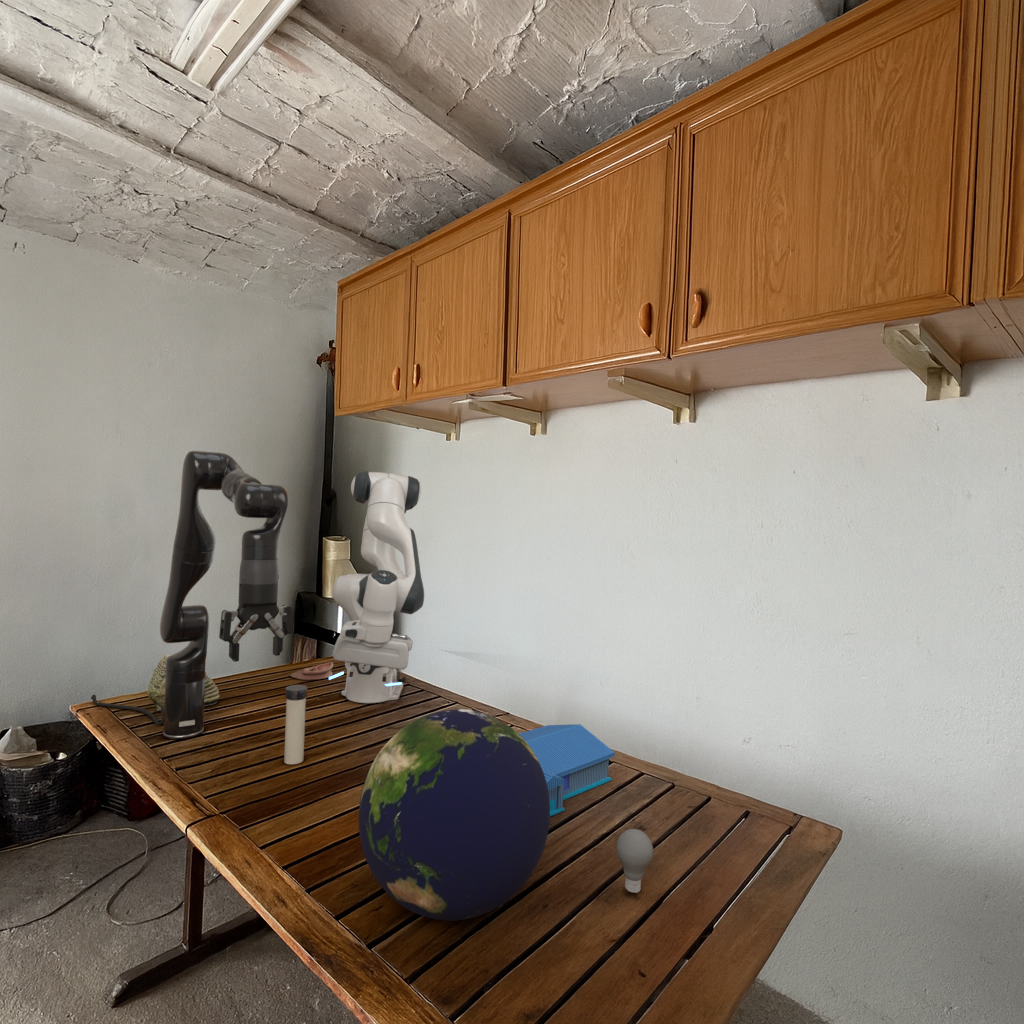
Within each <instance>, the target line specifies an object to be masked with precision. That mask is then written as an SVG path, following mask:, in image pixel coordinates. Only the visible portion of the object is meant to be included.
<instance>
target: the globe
mask: <svg viewBox="0 0 1024 1024" xmlns="http://www.w3.org/2000/svg"><path fill="white" fill-rule="evenodd" d="M519 734H520V733H518V732H517V731H516V730H515V729H514V728H513V727H512V726H510V725H508V724H506V723H505V722H504V721H502V720H500V719H498V718H496V717H494V716H493V715H490V714H487V713H484V712H480V711H478V710H477V711H476V710H472V709H466V708H461V709H460V708H459V709H446V710H440V711H435V712H432V713H429V714H425V715H423V716H421V717H419V718H417V719H415V720H413V721H411V722H409V724H407V725H405V726H404V727H402V728H401V729H400V730H399V731H397V732H396V733H395V734H394V735H393V736H391V738H390V739H389V740H388V741H387V743H385V744H384V745H383V747H382V748H381V749H380V750H379V752H378V754H377V755H376V757H375V759H374V760H373V762H372V764H371V766H370V768H369V770H368V772H367V775H366V777H365V780H364V783H363V787H362V790H361V794H360V798H359V799H360V800H359V807H358V831H359V839H360V845H361V849H362V852H363V855H364V858H365V861H366V863H367V866H368V867H369V869H370V871H371V874H372V875H373V877H374V879H375V880H376V881H377V882H378V884H379V885H380V887H381V888H382V889H383V891H385V892H386V894H388V895H389V897H391V899H393V900H394V901H395V902H396V903H398V904H399V905H400V906H401V907H403V908H405V909H406V910H408V911H411V912H412V913H414V914H417V915H419V916H421V917H424V918H428V919H432V920H437V921H446V922H449V921H450V922H452V921H455V922H456V921H464V920H469V919H473V918H477V917H480V916H482V915H483V916H484V915H485V914H488V913H490V912H492V911H494V910H496V909H497V908H499V907H501V906H502V905H503V904H505V903H507V902H508V901H509V900H510V899H511V898H513V896H515V895H516V894H517V893H518V892H519V891H520V890H521V889H522V887H523V886H524V885H525V884H526V883H527V881H528V880H529V879H530V877H531V876H532V875H533V872H534V871H535V869H536V868H537V866H538V863H539V861H540V860H541V858H542V856H543V853H544V849H545V847H546V844H547V839H548V834H549V830H550V823H551V822H550V821H551V816H550V800H549V792H548V787H547V782H546V779H545V776H544V773H543V770H542V768H541V765H540V763H539V760H538V759H537V757H536V755H535V753H534V752H533V750H532V749H531V747H530V746H529V745H528V744H527V742H526V741H525V740H524V739H523V738H522V737H521V736H520V735H519Z"/></svg>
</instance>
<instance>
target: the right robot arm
mask: <svg viewBox="0 0 1024 1024" xmlns="http://www.w3.org/2000/svg"><path fill="white" fill-rule="evenodd" d="M350 492H351V496H352V498H353V500H354V501H355V502H357V503H360V504H363V505H364V504H367V511H366V515H365V520H364V524H363V530H362V538H361V546H360V554H361V557H362V559H363V560H364V561H366V562H367V563H368V564H370V565H372V566H374V567H375V568H376V569H377V570H374V571H372V572H371V573H347V574H342V575H340V576H338V577H337V578H336V580H335V581H334V582H333V584H332V592H331V593H332V598H333V600H334V602H335V603H336V605H337V606H339V607H340V608H341V609H342V610H343V611H344V612H345V613H346V615H347V616H348V618H349V619H350V620H349V621H345V622H344V624H343V625H342V627H341V630H340V634H339V636H338V637H337V639H336V641H335V644H334V648H333V652H332V658H333V660H335V661H338V662H339V661H340V662H344V666H345V668H346V671H347V672H346V680H345V689H343V690H341V693H340V695H341V696H344V697H346V699H347V700H348V701H351V702H354V703H360V704H376V703H383V702H388V701H397V700H399V699H400V696H401V694H402V691H403V689H404V683H403V681H404V680H406V679H407V677H406V676H403V677H402V678H401V677H400V675H401V672H400V671H397V670H406V668H407V667H408V665H409V656H410V652H411V650H412V648H413V642H414V641H413V639H412V638H411V637H410V636H409V635H407V634H400V633H393V629H394V623H395V622H394V613H395V612H396V613H400V614H407V615H413V614H415V613H416V612H418V611H419V610H420V609H421V608H423V606H424V602H425V598H426V597H425V596H426V595H425V594H426V593H425V588H424V583H423V578H422V573H421V565H420V557H419V550H418V543H417V537H416V534H415V531H414V530H413V528H411V527H410V526H409V525H408V523H407V521H406V516H405V514H406V513H407V511H411V510H412V509H414V508H415V507H416V506H417V505H418V502H419V501H420V499H421V496H422V488H421V483H420V481H419V479H417V478H415V477H413V476H410V475H408V476H406V475H403V474H398V473H393V472H380V471H369V470H361V471H358V472H357V473H356V474H355V476H354V477H353V479H352V481H351V484H350ZM397 550H398V552H400V553H401V555H402V558H403V566H404V572H403V570H402V569H401V567H400V565H399V563H398V557H397ZM344 673H345V672H344V671H341V672H338V673H336V674H332V676H330V677H328V680H329V681H331V680H332V679H335V678H337V677H340V676H342V675H344Z"/></svg>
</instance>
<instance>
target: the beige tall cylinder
mask: <svg viewBox="0 0 1024 1024" xmlns="http://www.w3.org/2000/svg"><path fill="white" fill-rule="evenodd" d="M306 706H307V697H306V698H304V699H301V700H289V699H286V698H285V721H284V722H285V724H284V725H285V726H284V727H285V728H284V750H283V751H284V753H283V763H284V764H287V765H297V764H301V763H302V762H304V760H305V737H306V736H305V735H306V712H307V711H306V709H307V707H306Z"/></svg>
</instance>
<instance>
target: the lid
mask: <svg viewBox="0 0 1024 1024" xmlns="http://www.w3.org/2000/svg"><path fill="white" fill-rule="evenodd" d="M284 693H285V695H284V696H285V700H286V699H289V700H301V699H304V698H306V699H307V697H308V686H307V685H304V684H292V685H288V686H286V687H285V691H284Z"/></svg>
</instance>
